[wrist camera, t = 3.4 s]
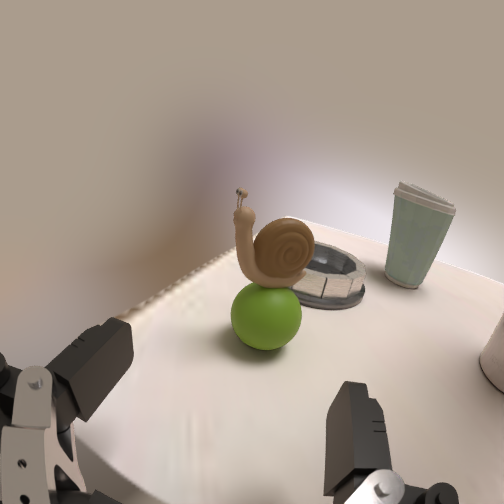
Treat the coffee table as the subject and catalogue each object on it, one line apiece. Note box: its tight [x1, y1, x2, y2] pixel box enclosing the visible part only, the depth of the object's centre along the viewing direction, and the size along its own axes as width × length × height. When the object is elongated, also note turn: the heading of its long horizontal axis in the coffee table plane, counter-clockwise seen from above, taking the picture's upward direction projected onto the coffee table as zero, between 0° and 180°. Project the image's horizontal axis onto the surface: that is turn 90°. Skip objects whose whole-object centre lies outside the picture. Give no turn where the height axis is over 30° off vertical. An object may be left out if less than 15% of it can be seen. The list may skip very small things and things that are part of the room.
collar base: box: [288, 241, 366, 310], centre depth 35 cm, size 14×14×3 cm
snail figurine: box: [231, 188, 315, 350], centre depth 20 cm, size 5×6×12 cm
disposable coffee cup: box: [385, 181, 456, 289], centre depth 38 cm, size 11×11×15 cm
